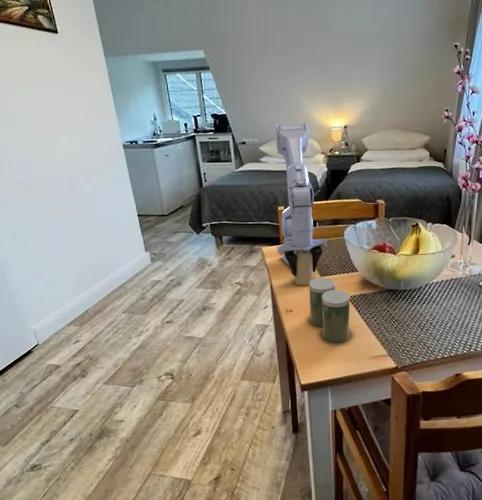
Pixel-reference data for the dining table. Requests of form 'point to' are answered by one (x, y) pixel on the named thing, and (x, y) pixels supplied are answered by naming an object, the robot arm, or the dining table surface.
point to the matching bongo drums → (329, 309)
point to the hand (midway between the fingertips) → (303, 272)
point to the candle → (304, 267)
